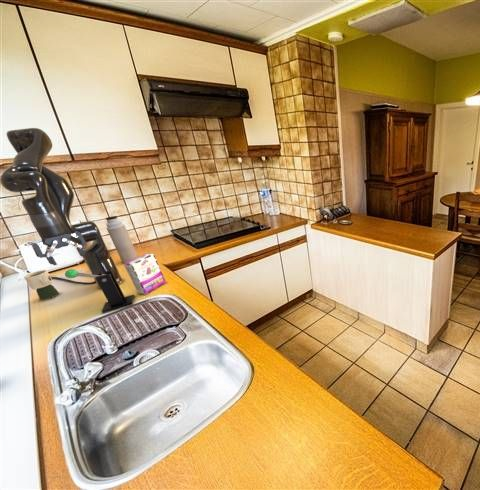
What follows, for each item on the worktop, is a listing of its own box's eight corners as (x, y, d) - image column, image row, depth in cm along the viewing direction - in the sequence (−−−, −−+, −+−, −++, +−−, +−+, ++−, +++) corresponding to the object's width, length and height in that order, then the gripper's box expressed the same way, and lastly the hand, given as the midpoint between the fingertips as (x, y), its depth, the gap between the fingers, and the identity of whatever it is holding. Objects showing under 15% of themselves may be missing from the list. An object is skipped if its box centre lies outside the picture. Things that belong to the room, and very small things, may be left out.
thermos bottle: (133, 257, 168) (114, 214, 157) (142, 258, 165) (123, 215, 154) (119, 262, 161) (98, 218, 150) (128, 264, 158) (107, 219, 147)
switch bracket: (102, 313, 113) (85, 281, 107) (106, 304, 119) (90, 274, 113) (132, 304, 118) (117, 273, 112) (134, 296, 124) (120, 266, 118)
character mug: (65, 295, 128) (50, 272, 123) (43, 303, 123) (28, 279, 117) (56, 291, 133) (42, 268, 128) (35, 298, 127) (20, 275, 122)
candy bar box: (158, 281, 136) (146, 253, 129) (166, 282, 135) (154, 253, 128) (137, 294, 126) (122, 263, 119) (145, 294, 125) (131, 264, 118)
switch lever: (62, 279, 104) (64, 270, 104) (65, 275, 107) (67, 267, 107) (107, 283, 113) (110, 275, 112) (109, 280, 115) (111, 272, 115)
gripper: (68, 217, 112) (87, 252, 118) (17, 228, 100) (41, 266, 107) (76, 219, 109) (95, 254, 115) (25, 230, 97) (48, 269, 104)
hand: (69, 260), depth 111 cm, fingers open, 8 cm apart
